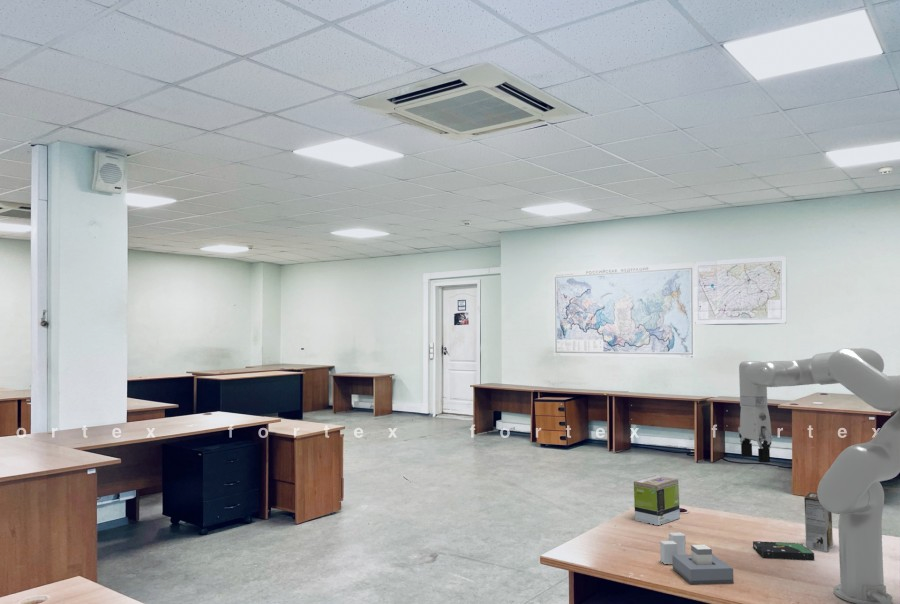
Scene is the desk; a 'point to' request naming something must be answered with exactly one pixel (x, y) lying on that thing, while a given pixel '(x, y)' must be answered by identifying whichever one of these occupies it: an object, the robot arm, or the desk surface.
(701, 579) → the holder
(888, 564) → the desk surface
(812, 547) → the coffee box
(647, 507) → the tea box
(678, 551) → the pale grey post pair
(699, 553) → the block
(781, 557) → the disk drive
